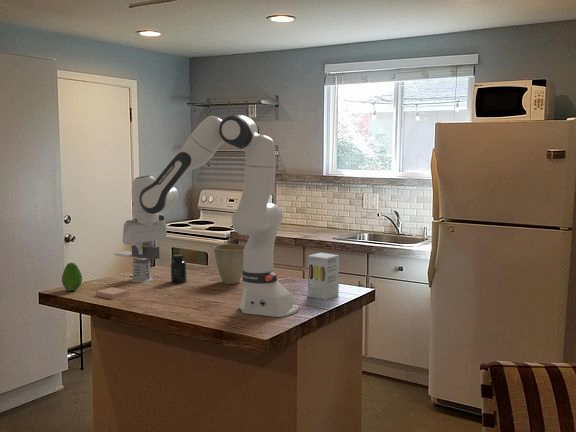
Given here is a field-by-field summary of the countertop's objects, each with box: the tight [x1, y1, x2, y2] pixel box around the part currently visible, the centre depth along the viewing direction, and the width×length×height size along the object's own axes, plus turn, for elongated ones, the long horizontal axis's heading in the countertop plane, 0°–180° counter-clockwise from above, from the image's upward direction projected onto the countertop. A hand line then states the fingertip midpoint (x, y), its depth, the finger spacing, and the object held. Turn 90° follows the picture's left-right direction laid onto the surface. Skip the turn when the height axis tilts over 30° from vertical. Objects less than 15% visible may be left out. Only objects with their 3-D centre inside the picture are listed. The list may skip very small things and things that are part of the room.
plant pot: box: [213, 243, 246, 285], centre depth 262 cm, size 15×15×16 cm
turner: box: [114, 244, 160, 260], centre depth 232 cm, size 20×6×4 cm, turn 58°
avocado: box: [61, 262, 83, 292], centre depth 246 cm, size 8×8×12 cm
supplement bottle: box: [170, 254, 188, 284], centre depth 262 cm, size 7×7×12 cm
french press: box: [130, 257, 154, 283], centre depth 265 cm, size 10×12×25 cm
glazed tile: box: [95, 287, 129, 300], centre depth 240 cm, size 2×8×10 cm
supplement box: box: [307, 252, 340, 301], centre depth 238 cm, size 10×9×17 cm
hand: (145, 253), depth 230 cm, fingers closed on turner, 3 cm apart
